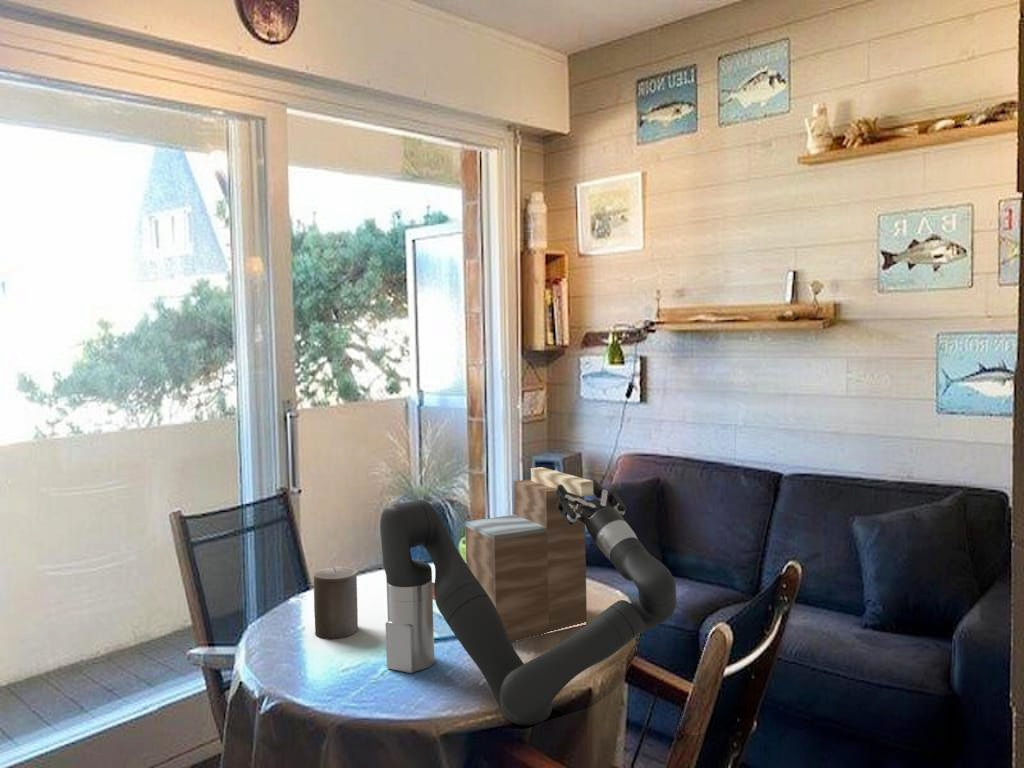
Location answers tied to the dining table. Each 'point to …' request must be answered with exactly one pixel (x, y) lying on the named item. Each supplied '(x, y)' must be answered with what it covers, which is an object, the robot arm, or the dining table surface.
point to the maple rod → (562, 481)
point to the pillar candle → (335, 602)
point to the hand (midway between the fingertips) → (575, 485)
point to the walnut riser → (531, 563)
